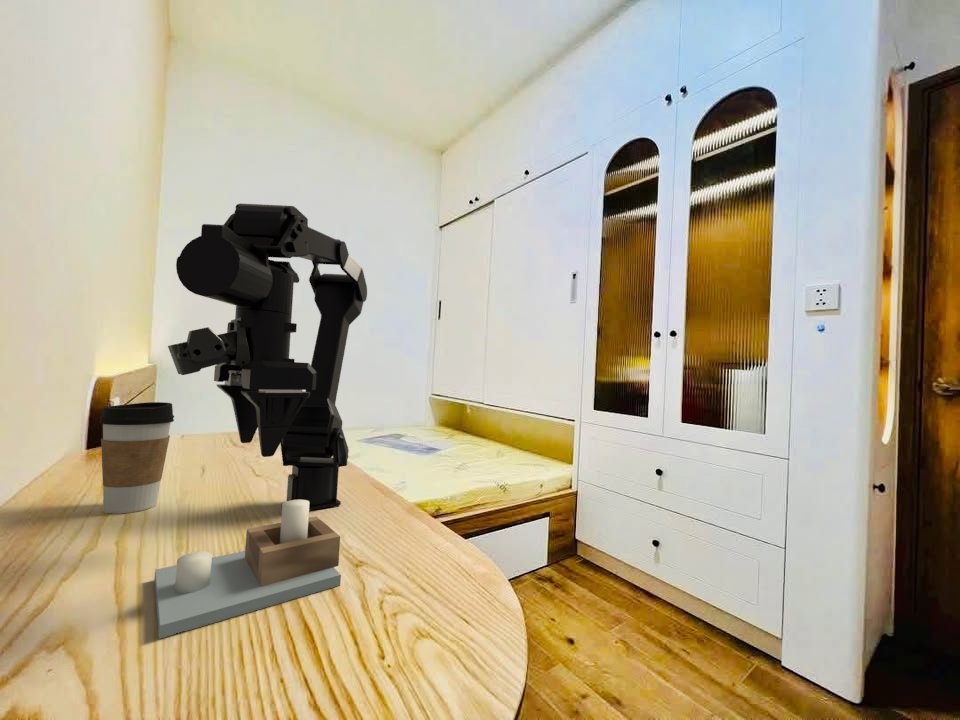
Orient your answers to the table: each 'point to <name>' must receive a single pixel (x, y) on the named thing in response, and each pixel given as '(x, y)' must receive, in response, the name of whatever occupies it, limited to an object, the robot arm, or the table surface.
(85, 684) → the table surface
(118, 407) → the coffee cup
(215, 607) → the post board
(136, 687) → the table surface
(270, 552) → the walnut ring
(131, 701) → the table surface
